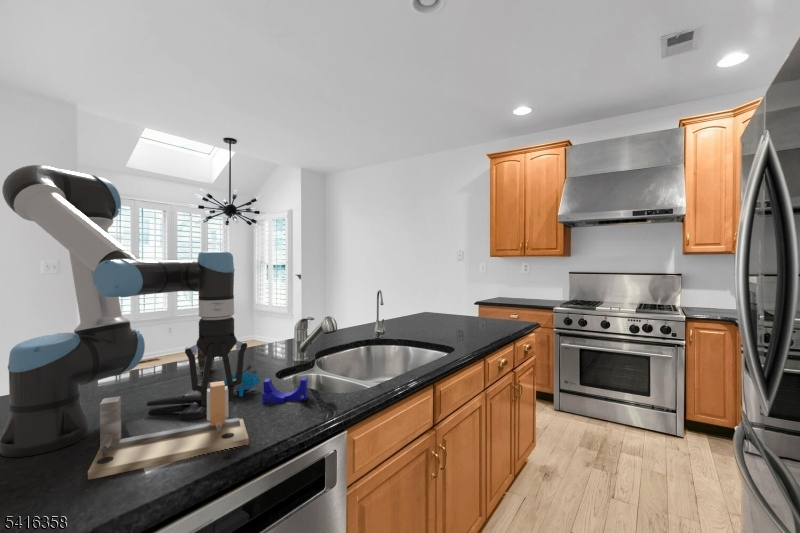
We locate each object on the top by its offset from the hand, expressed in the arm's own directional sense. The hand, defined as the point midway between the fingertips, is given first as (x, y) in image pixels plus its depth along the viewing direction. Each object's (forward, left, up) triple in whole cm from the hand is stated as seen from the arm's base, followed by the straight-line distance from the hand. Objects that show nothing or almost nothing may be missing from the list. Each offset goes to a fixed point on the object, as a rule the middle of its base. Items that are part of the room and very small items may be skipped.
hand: (217, 416), depth 90 cm
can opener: (-8, +18, -5) cm, 20 cm away
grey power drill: (-1, +58, -4) cm, 59 cm away
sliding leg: (0, -2, -2) cm, 3 cm away
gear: (+8, +27, -4) cm, 28 cm away
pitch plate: (-8, -4, -4) cm, 10 cm away
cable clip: (+19, +15, -4) cm, 24 cm away
